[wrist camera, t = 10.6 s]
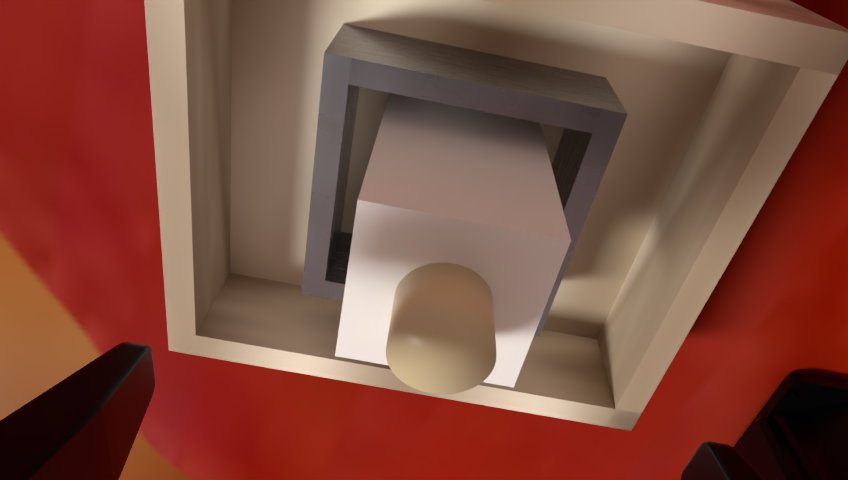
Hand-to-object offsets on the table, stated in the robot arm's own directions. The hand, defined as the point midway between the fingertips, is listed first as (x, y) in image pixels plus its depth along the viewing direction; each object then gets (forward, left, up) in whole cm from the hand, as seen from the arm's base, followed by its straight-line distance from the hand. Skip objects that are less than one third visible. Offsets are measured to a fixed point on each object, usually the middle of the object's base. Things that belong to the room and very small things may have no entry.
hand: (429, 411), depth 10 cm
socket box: (0, 0, -10) cm, 10 cm away
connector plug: (0, 0, -9) cm, 9 cm away
